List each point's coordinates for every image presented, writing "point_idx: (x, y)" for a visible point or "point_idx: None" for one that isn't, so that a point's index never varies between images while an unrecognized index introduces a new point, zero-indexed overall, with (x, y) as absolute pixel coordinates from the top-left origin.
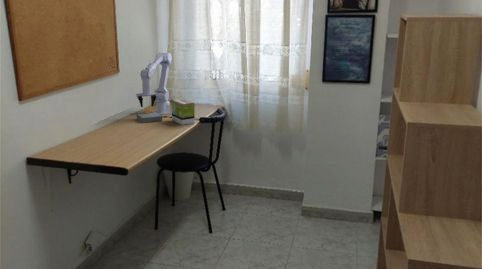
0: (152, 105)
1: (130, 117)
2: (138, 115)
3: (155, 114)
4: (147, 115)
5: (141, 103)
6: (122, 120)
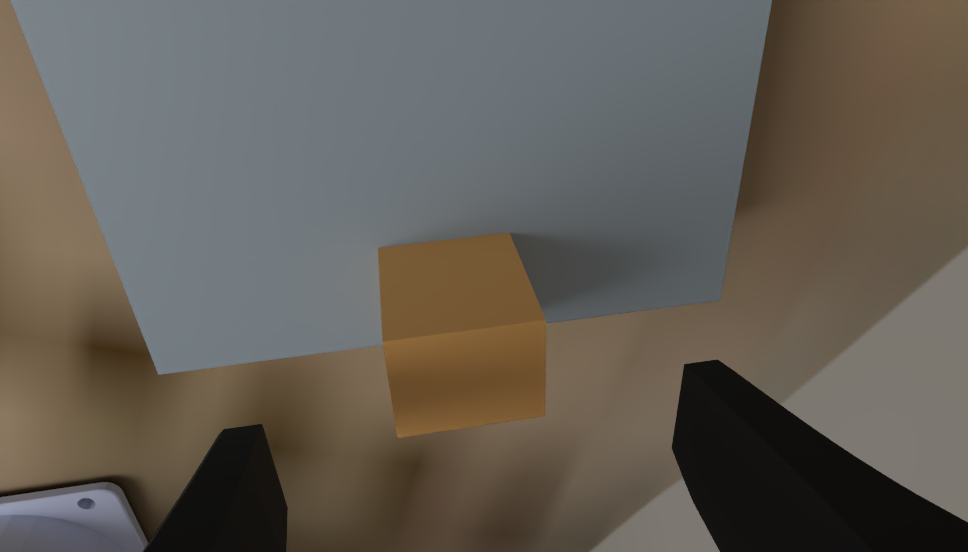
0: (253, 449)
1: None
2: (737, 163)
3: (208, 111)
4: (516, 41)
5: (845, 455)
6: (963, 198)
